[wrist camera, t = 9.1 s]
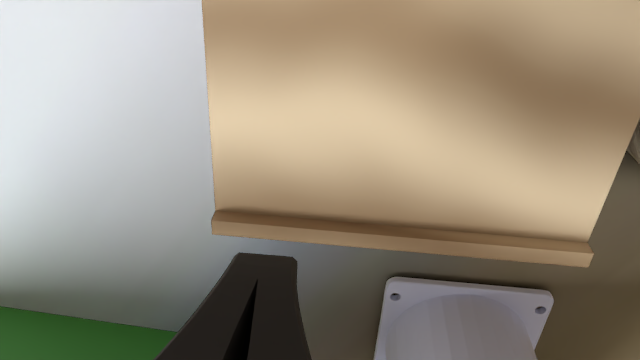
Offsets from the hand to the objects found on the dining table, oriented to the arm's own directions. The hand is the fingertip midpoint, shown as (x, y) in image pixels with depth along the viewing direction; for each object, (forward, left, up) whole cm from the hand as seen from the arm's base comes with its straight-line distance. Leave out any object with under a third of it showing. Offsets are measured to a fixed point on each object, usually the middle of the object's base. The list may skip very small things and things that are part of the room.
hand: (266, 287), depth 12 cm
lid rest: (+4, -4, -10) cm, 12 cm away
